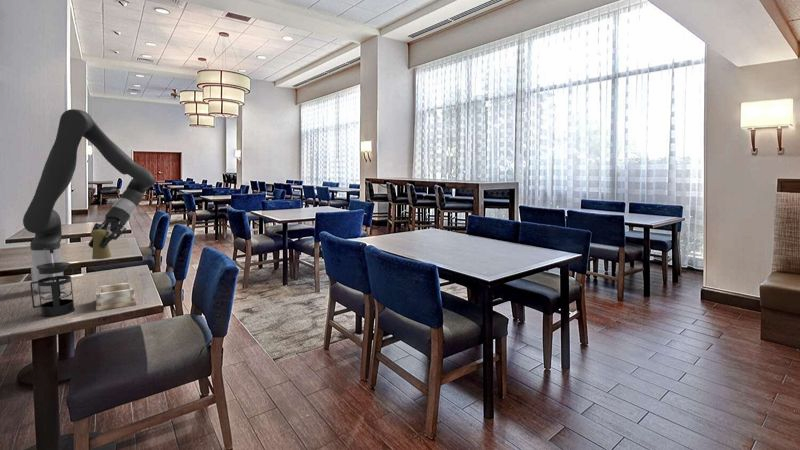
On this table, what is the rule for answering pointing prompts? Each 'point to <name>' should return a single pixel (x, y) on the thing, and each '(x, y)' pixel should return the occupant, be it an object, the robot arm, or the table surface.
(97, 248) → the cork
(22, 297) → the table surface
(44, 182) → the robot arm
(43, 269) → the french press
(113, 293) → the cruet holder
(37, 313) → the table surface
